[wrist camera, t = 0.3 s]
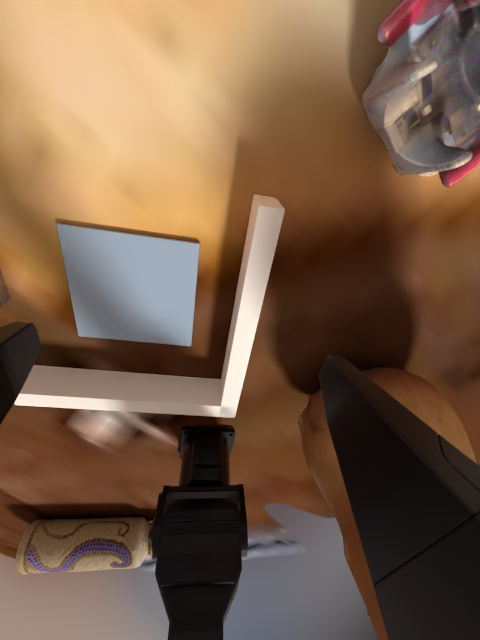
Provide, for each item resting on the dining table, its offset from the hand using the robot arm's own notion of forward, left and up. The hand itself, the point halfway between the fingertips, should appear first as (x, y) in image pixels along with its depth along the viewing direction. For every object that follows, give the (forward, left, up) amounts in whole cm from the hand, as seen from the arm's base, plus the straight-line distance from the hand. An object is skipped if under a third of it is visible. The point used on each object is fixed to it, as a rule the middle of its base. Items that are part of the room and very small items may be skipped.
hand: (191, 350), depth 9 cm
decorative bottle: (-53, +11, -15) cm, 56 cm away
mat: (-7, +6, -14) cm, 17 cm away
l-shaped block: (-8, +6, -14) cm, 17 cm away
